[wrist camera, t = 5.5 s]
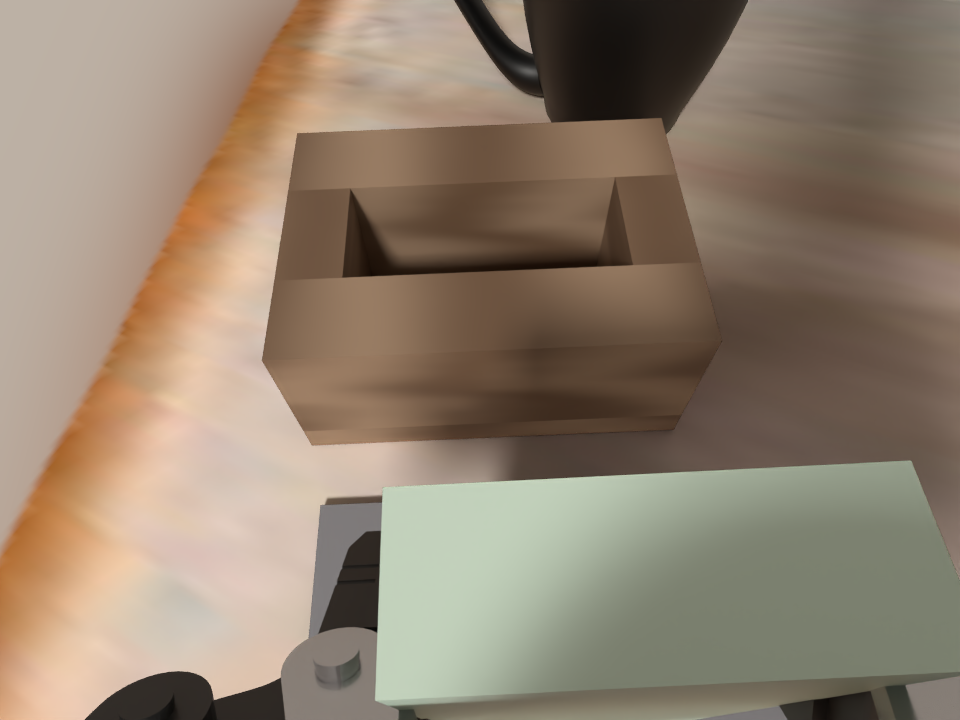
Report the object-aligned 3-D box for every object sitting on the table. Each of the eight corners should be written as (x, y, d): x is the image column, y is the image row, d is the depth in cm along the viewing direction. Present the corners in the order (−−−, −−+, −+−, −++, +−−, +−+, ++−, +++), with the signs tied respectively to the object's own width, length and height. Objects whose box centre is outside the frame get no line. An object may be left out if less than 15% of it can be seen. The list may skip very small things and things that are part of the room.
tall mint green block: (674, 629, 15) (911, 460, 6) (691, 720, 14) (996, 671, 5) (452, 640, 15) (382, 487, 6) (454, 731, 14) (374, 700, 5)
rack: (631, 231, 24) (661, 118, 20) (673, 429, 20) (721, 340, 16) (332, 244, 24) (297, 133, 20) (312, 445, 20) (261, 360, 16)
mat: (738, 490, 19) (742, 486, 19) (854, 946, 14) (860, 950, 14) (323, 508, 19) (320, 505, 19) (282, 973, 14) (278, 977, 13)
